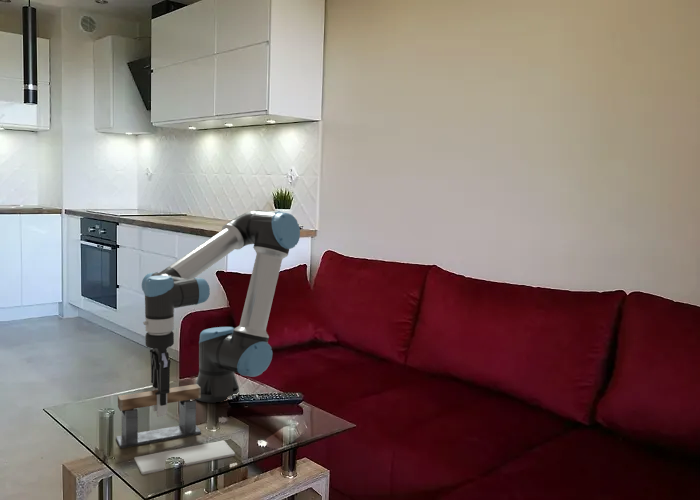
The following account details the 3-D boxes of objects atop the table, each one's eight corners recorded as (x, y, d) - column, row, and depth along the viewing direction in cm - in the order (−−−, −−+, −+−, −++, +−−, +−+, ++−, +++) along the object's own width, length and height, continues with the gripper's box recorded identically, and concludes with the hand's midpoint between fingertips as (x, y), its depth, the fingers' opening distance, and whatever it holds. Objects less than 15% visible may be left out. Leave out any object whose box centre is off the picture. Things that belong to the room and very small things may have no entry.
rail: (196, 393, 178) (196, 383, 178) (200, 398, 175) (200, 387, 175) (117, 406, 167) (117, 395, 166) (120, 411, 164) (120, 400, 163)
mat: (223, 442, 170) (223, 440, 170) (235, 455, 162) (235, 453, 162) (134, 459, 157) (134, 457, 157) (142, 474, 150) (142, 472, 150)
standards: (194, 425, 180) (194, 393, 179) (200, 433, 175) (201, 400, 174) (116, 439, 169) (115, 404, 168) (120, 448, 163) (120, 412, 162)
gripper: (139, 326, 174) (140, 404, 176) (152, 340, 159) (153, 426, 162) (165, 323, 177) (166, 400, 180) (181, 337, 163) (181, 420, 166)
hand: (160, 412), depth 171 cm, fingers closed on rail, 3 cm apart
